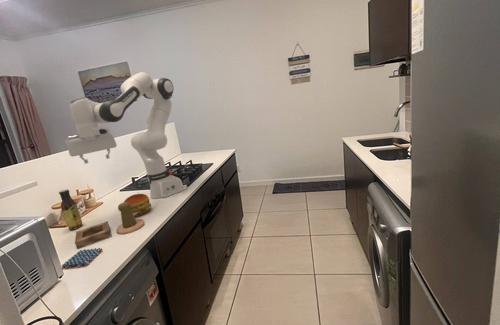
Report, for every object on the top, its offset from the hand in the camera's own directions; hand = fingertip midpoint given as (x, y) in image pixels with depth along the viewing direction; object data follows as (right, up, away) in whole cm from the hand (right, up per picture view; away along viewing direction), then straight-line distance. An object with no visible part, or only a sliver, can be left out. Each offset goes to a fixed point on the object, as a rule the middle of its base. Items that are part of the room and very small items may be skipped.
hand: (97, 160), depth 128 cm
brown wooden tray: (+5, -34, -11) cm, 36 cm away
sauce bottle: (-13, -34, +4) cm, 37 cm away
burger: (+16, -28, +9) cm, 33 cm away
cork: (+19, -30, -7) cm, 36 cm away
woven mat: (+11, -39, -29) cm, 49 cm away
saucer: (+20, -31, -7) cm, 37 cm away
